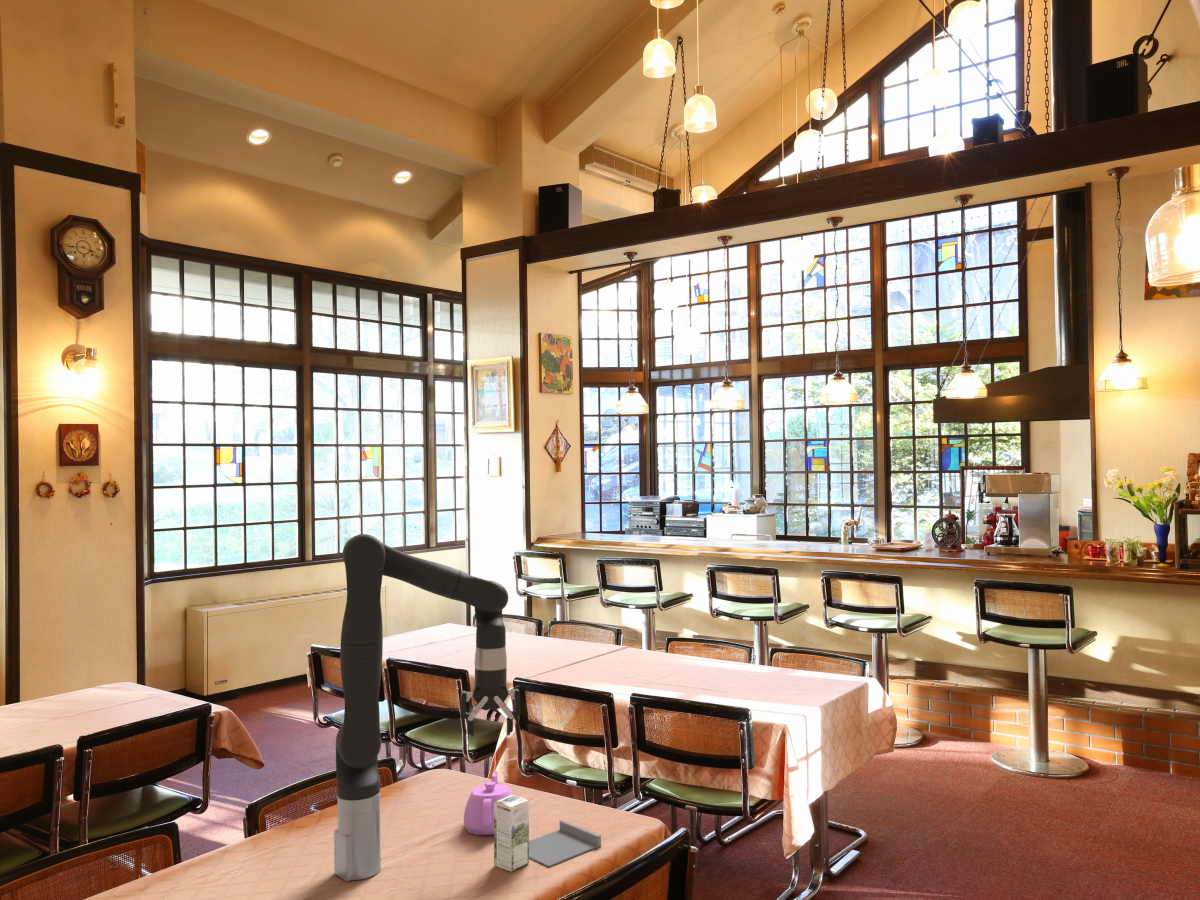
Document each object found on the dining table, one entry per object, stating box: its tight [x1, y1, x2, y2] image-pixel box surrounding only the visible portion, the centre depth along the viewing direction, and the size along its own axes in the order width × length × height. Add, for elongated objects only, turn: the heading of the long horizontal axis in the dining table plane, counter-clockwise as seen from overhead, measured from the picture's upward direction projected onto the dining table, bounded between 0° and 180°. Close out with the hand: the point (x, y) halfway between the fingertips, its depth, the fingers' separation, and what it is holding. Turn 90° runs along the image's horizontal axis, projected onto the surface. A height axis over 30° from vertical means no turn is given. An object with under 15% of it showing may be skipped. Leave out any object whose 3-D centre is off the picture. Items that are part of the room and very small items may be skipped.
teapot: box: [463, 771, 513, 836], centre depth 217 cm, size 13×20×11 cm
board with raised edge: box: [529, 819, 602, 868], centre depth 203 cm, size 16×14×2 cm
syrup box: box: [493, 794, 530, 873], centre depth 195 cm, size 6×6×14 cm
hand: (490, 735), depth 204 cm, fingers open, 8 cm apart
